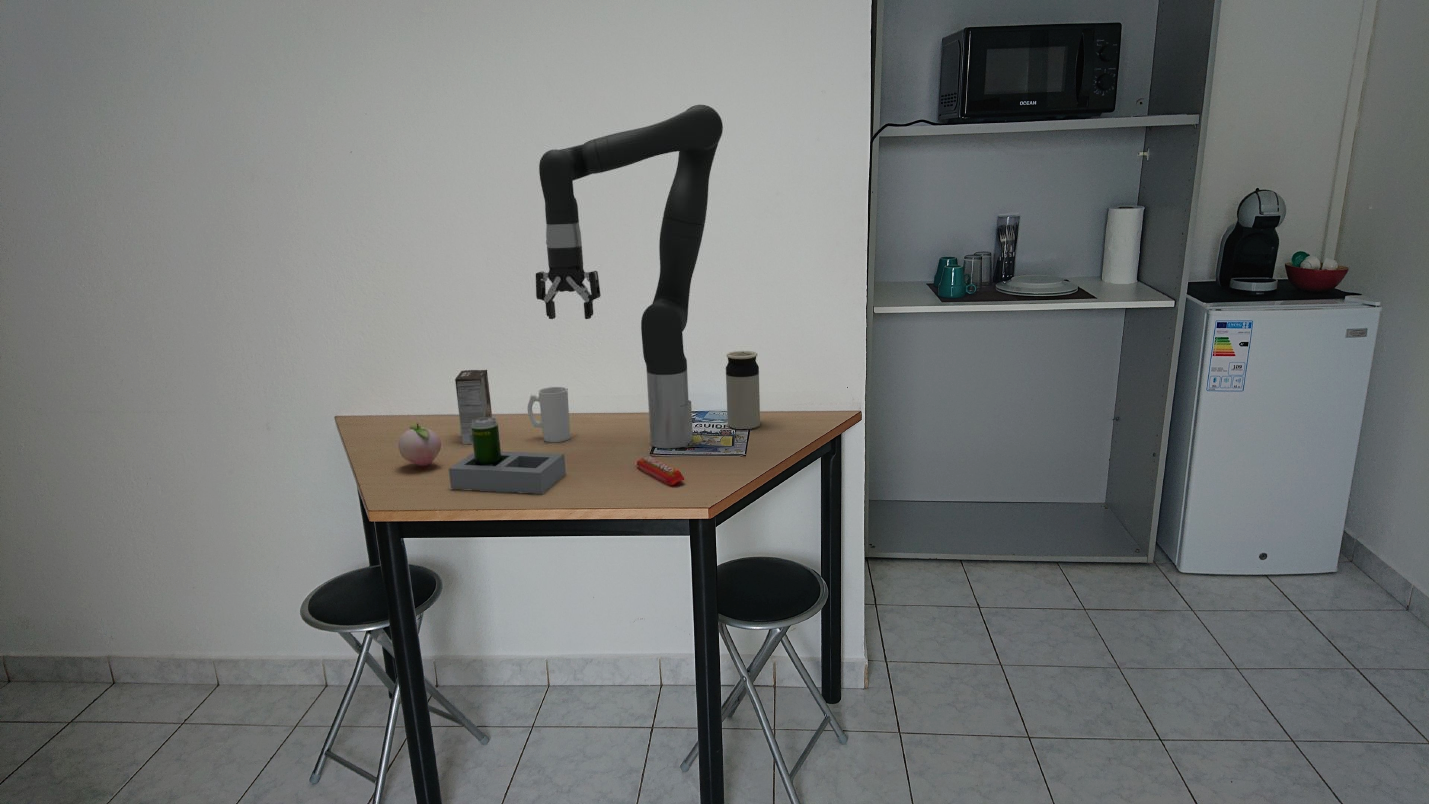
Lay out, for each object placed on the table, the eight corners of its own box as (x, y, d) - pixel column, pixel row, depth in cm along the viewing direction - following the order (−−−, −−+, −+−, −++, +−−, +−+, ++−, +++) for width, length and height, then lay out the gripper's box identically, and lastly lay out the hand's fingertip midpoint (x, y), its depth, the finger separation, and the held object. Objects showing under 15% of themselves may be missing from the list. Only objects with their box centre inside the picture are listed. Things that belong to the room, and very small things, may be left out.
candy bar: (633, 469, 192) (633, 455, 191) (649, 465, 194) (648, 452, 193) (671, 489, 178) (670, 475, 178) (687, 485, 180) (686, 471, 180)
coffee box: (468, 433, 221) (461, 370, 217) (494, 432, 222) (488, 368, 218) (461, 444, 213) (453, 378, 208) (488, 443, 213) (481, 377, 209)
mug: (575, 434, 217) (571, 386, 214) (566, 443, 211) (562, 393, 208) (535, 434, 219) (531, 386, 216) (525, 442, 212) (520, 393, 209)
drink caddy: (565, 474, 189) (564, 454, 188) (542, 494, 178) (540, 472, 177) (479, 470, 194) (477, 450, 193) (451, 489, 182) (448, 468, 181)
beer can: (504, 477, 185) (499, 422, 182) (478, 481, 183) (471, 425, 180) (501, 470, 190) (495, 415, 187) (475, 474, 188) (469, 419, 185)
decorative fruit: (393, 468, 197) (387, 424, 195) (426, 458, 203) (421, 416, 200) (416, 476, 191) (410, 431, 189) (449, 466, 197) (444, 422, 194)
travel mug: (754, 431, 214) (752, 357, 210) (723, 429, 217) (720, 356, 213) (764, 422, 222) (762, 351, 217) (734, 420, 224) (731, 349, 220)
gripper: (601, 242, 197) (606, 316, 201) (541, 243, 200) (547, 315, 204) (588, 245, 190) (594, 321, 194) (526, 246, 193) (533, 321, 197)
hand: (570, 318), depth 199 cm, fingers open, 8 cm apart
